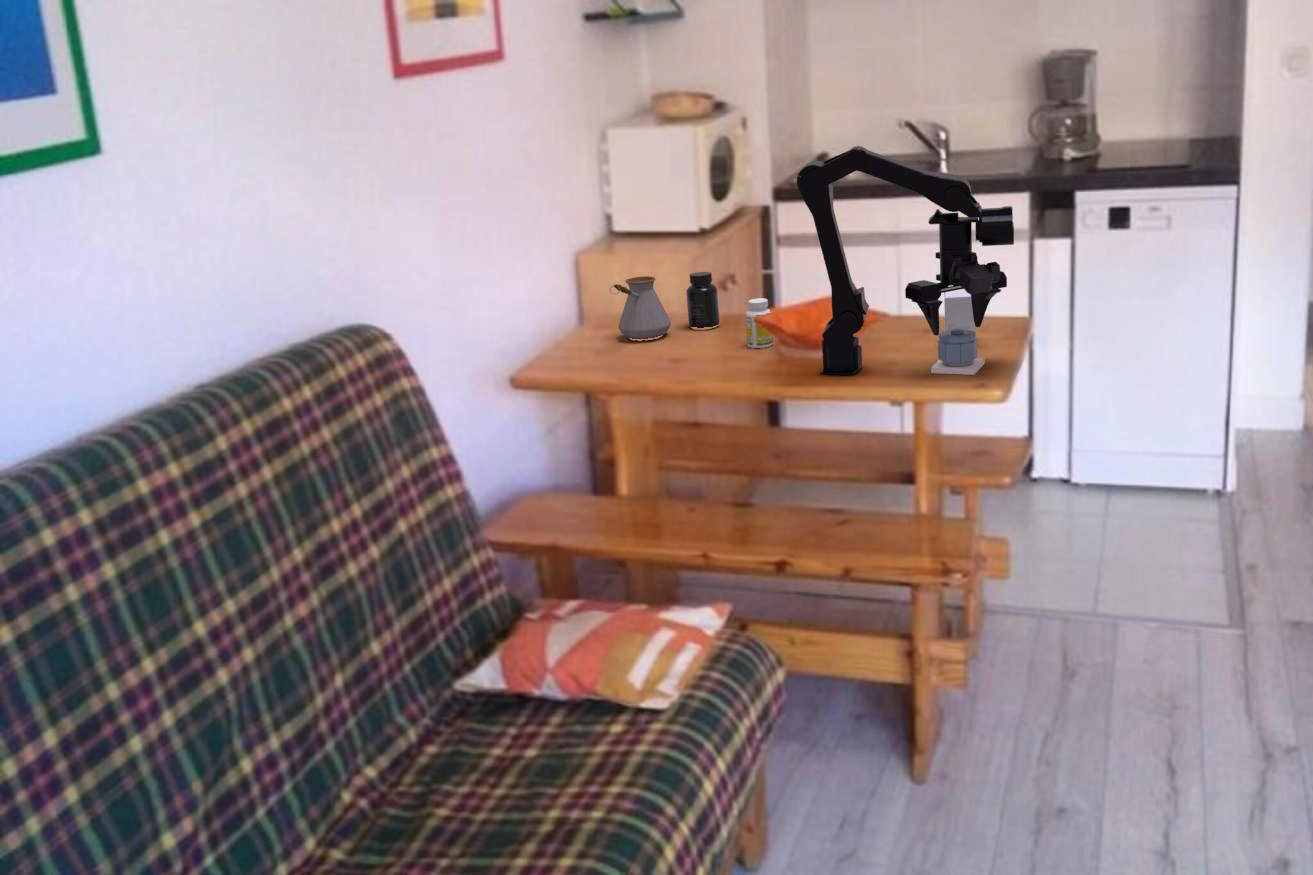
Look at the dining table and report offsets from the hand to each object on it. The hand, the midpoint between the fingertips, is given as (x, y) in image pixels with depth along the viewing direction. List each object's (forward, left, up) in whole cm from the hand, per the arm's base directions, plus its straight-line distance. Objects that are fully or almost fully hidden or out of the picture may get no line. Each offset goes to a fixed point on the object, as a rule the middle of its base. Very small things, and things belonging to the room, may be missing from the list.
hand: (957, 331), depth 253 cm
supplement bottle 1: (-63, +25, -7) cm, 68 cm away
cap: (0, 0, -5) cm, 5 cm away
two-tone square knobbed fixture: (0, 0, -7) cm, 7 cm away
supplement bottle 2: (-44, +11, -7) cm, 46 cm away
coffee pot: (-72, +10, -7) cm, 73 cm away
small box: (-4, +17, -7) cm, 19 cm away
